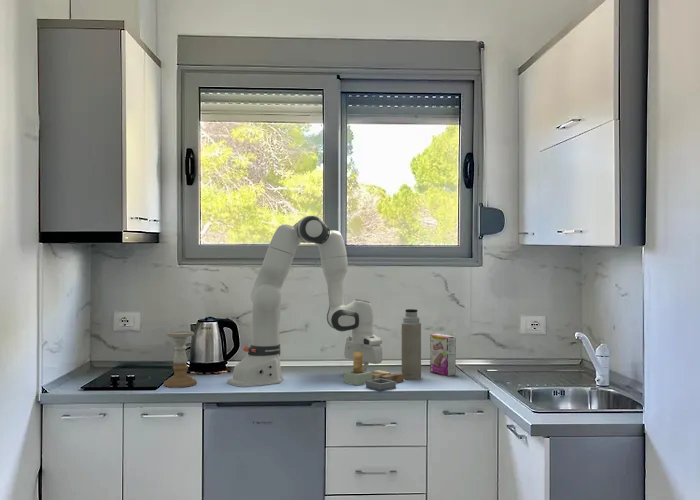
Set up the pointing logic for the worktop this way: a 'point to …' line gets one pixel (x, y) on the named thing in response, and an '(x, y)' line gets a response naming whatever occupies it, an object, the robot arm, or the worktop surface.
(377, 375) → the tan wooden block
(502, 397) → the worktop surface
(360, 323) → the robot arm
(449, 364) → the candy bar box
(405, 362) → the thermos bottle
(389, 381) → the tray
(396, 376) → the bar
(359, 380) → the socket block
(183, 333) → the candle holder
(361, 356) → the dowel
